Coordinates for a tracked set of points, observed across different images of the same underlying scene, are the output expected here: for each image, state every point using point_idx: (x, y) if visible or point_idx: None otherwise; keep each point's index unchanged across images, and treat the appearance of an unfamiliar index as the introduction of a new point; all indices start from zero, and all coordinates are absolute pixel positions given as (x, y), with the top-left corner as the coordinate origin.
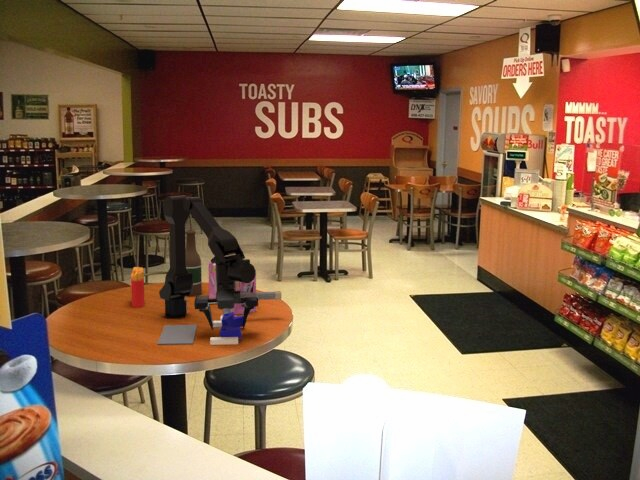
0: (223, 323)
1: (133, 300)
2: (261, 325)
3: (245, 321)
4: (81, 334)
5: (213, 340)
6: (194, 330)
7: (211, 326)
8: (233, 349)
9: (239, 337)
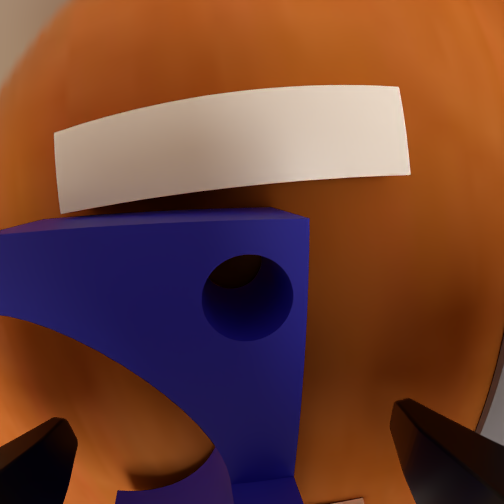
0: (278, 490)
1: None
2: (67, 495)
3: (2, 448)
4: None
5: (356, 89)
6: (494, 412)
7: (426, 414)
8: (121, 12)
9: (55, 220)
